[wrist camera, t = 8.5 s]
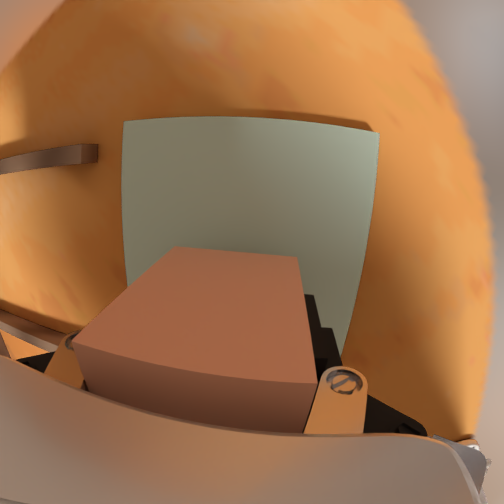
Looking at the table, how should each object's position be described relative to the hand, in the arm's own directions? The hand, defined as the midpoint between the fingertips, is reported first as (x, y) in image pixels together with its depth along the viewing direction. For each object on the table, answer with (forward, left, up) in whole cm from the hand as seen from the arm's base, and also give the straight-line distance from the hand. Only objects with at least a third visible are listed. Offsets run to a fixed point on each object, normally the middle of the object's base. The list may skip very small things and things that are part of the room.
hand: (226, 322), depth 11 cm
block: (0, 0, -1) cm, 1 cm away
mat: (0, 0, -4) cm, 4 cm away
